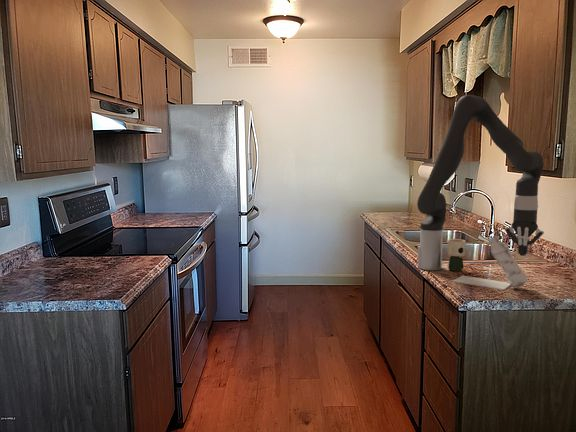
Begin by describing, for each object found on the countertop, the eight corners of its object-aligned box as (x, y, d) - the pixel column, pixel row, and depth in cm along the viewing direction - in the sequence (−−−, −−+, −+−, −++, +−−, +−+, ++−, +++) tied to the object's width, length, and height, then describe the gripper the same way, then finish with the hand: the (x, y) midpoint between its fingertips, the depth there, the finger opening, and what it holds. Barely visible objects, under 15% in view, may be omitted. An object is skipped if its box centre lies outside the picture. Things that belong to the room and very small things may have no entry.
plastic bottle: (510, 291, 174) (481, 243, 178) (517, 286, 178) (488, 239, 183) (526, 284, 169) (495, 235, 174) (532, 279, 174) (502, 232, 179)
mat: (452, 281, 186) (452, 280, 186) (462, 276, 193) (462, 275, 193) (503, 290, 173) (504, 289, 173) (512, 284, 181) (512, 283, 181)
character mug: (457, 274, 197) (458, 243, 195) (441, 271, 202) (442, 241, 200) (469, 269, 204) (470, 239, 202) (454, 266, 209) (455, 237, 208)
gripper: (502, 207, 172) (500, 254, 174) (543, 210, 163) (540, 259, 165) (509, 205, 177) (506, 251, 180) (548, 208, 169) (545, 256, 171)
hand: (522, 255), depth 173 cm, fingers closed
